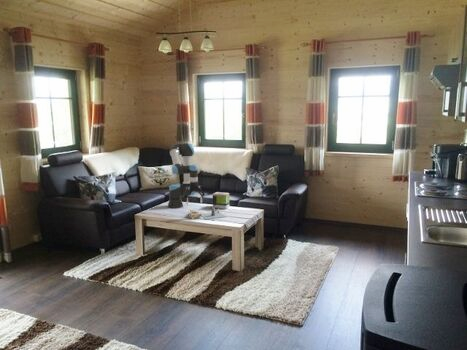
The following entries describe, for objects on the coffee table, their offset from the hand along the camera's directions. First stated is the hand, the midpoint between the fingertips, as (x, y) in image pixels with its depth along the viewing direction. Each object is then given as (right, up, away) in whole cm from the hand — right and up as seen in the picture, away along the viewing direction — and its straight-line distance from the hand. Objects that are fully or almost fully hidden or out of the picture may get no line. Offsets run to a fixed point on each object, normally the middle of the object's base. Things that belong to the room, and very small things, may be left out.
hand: (194, 203), depth 344 cm
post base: (+17, -12, +6) cm, 22 cm away
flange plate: (-1, -12, +5) cm, 13 cm away
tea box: (+24, -6, +35) cm, 43 cm away
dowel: (+22, -10, +14) cm, 28 cm away
